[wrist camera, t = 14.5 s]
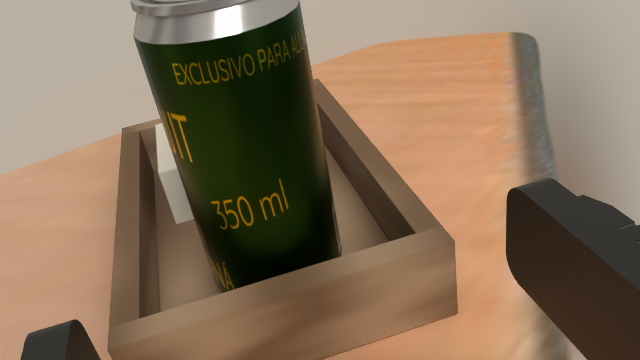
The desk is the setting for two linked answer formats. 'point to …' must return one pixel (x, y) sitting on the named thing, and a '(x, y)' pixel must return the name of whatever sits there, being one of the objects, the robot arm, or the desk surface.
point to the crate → (285, 290)
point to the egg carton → (171, 178)
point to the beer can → (242, 131)
